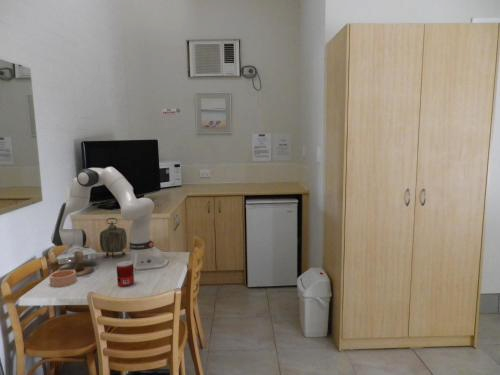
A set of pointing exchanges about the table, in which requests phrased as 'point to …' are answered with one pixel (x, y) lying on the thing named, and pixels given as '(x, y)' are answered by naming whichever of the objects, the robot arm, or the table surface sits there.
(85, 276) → the mat
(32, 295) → the table surface
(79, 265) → the lid
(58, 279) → the bowl
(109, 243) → the tabletop clock
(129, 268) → the canned food
